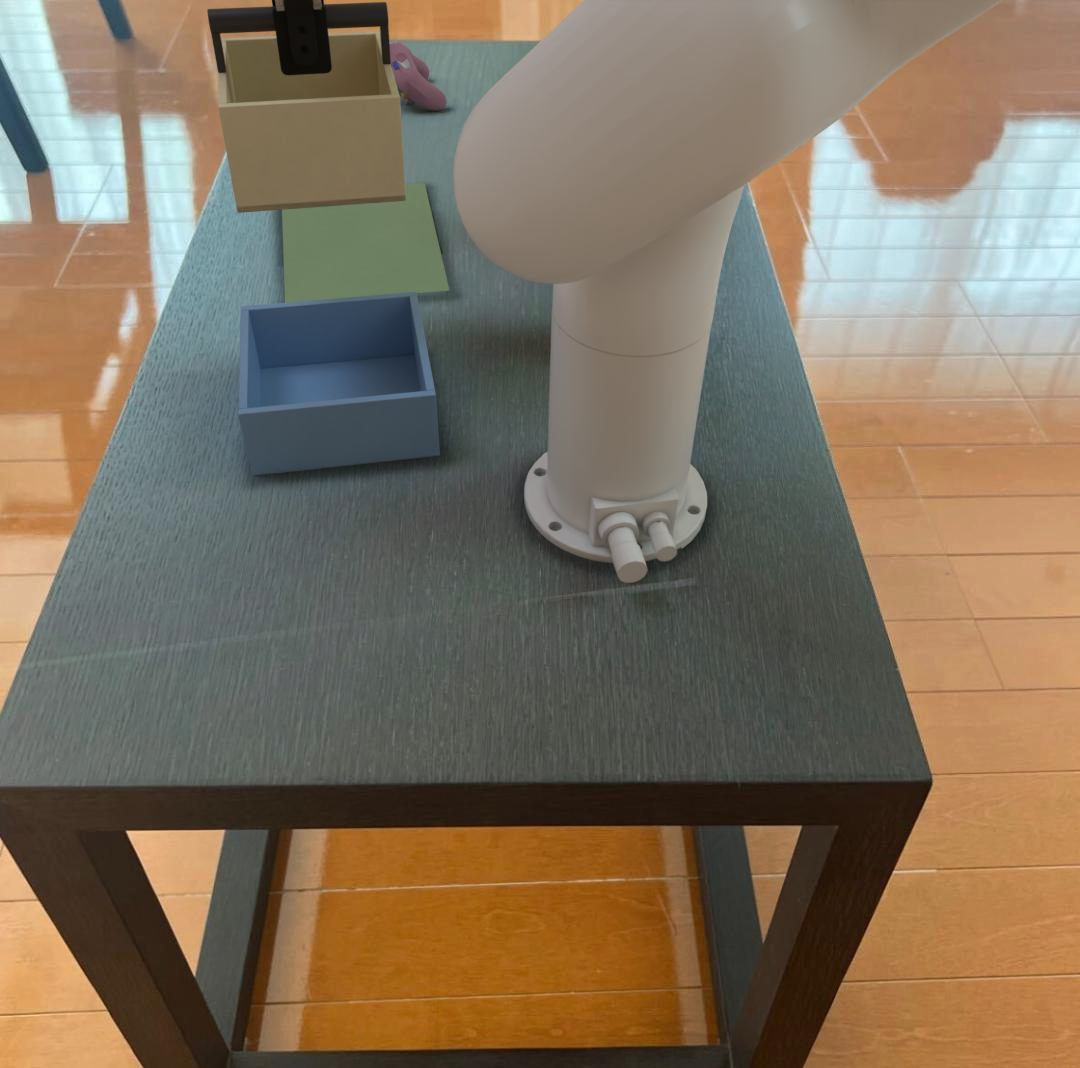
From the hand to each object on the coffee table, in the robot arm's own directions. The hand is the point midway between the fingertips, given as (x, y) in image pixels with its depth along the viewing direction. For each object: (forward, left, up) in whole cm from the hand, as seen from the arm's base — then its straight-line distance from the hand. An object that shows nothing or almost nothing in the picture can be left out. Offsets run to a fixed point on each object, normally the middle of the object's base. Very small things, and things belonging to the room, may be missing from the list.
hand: (305, 63), depth 69 cm
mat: (+18, -2, -23) cm, 30 cm away
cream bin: (0, 0, -7) cm, 7 cm away
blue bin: (-7, +1, -23) cm, 24 cm away
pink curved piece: (+50, -10, -24) cm, 56 cm away
